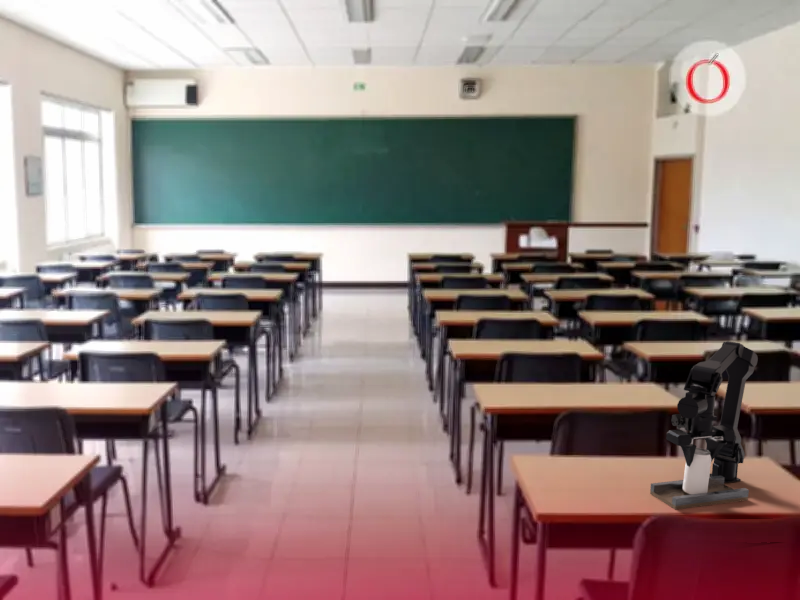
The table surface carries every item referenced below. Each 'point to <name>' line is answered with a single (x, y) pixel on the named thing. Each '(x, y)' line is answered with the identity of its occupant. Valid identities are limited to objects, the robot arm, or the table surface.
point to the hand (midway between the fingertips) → (698, 465)
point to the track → (680, 499)
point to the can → (697, 473)
